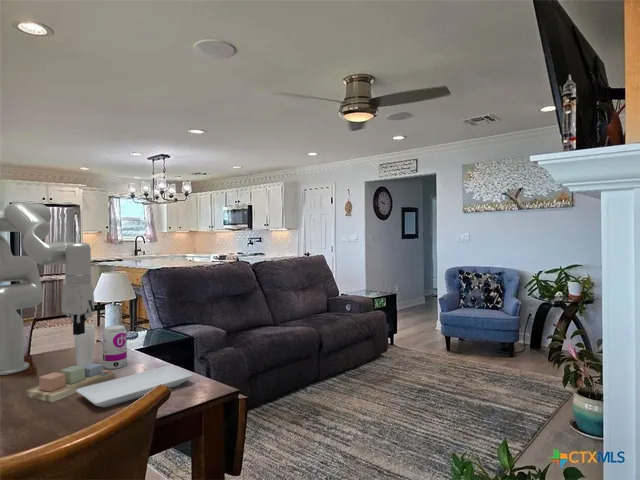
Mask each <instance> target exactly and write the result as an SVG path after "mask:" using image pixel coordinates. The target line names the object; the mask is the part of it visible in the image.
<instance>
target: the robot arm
mask: <svg viewBox="0 0 640 480" xmlns="http://www.w3.org/2000/svg"><path fill="white" fill-rule="evenodd" d="M51 220H52V213H51V210H50V208H49V207H48V206H46V205H45V204H43V203H37V202H22V201H20V202H19V201H17V202H13V203H10V204H8V205H7V206H5V208H0V233H1V232H4V233H5V232H6V233H9V232H12V233H13V232H14V233H15V232H18V233H20V234H21V235H22V236H23V238H22V246H23V250H24V252H25V254H26V255H13V252H12V251H11V250H12V249H11V245H10V243H9V242H8V241H7V240H6V238H5V237H4V236H3V235H1V234H0V283H7V282H9V283H10V282H17V281H19V282H20V283H12V284H4V285H0V376H4V375H5V376H6V375H10V374H16V373H19V372H23V371H24V370H25V371H26V370H27V369H29V367H30V363H29V362H27V361H25V351H24V349H25V345H24V341H25V340H24V338H25V337H24V333H25V332H24V331H25V330H24V319H23V318H22V317H21V315H20V314H19V313H18V310H21V309H25V308H26V309H27V308H33V307H37V306H39V305H40V304H41V303H42V301H43V298H44V292H43V291H44V290H43V285H42V281H41V276H40V272H39V269H38V265H37V264H39V265H40V266H54V265H64V269H65V271H64V272H65V275H64V277H65V278H64V281H65V283H64V284H63V287H62V291H61V302H60V303H61V306H60V307H61V308H60V310H61V312H62V313H63V314H64V315H65V316H66V317H69V318H70V321H71V323H72V335H73V336H74V335H80V334H83V333H85V325H86V324H85V323H86V322H87V319H88V318H92V317H93V312H95V295H94V288H93V284H92V259H91V258H92V257H91V256H92V255H91V250H92V249H91V245H90V244H88V243H85V242H72V241H58V242H57V241H54V242H52V241H51V242H45V241H43V240H44V239H45V238H46V237H47V236H48V235H49V234H50V232H51V225H50V222H51Z"/></svg>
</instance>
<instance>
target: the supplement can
mask: <svg viewBox="0 0 640 480" xmlns="http://www.w3.org/2000/svg"><path fill="white" fill-rule="evenodd" d="M127 333H128V332H127V328H126V327H125V325H123V324H115V325H107V326H105V327H104V329H103V330H102V368H103V367H104V369H108V370H115V369H120V368H124V367H125V366H126V365H127V364H128V360H127V359H128V355H127V353H128V349H127V347H128V343H127V340H128V339H127Z"/></svg>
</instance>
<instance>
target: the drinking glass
mask: <svg viewBox="0 0 640 480" xmlns="http://www.w3.org/2000/svg"><path fill="white" fill-rule="evenodd" d="M95 335H96V334H95V325H93V324H85V333H83V334H80V335H73V337H74V348H75V356H76V358H75V359H76V366H80V367H82V366H85V365H88V364H91V363H94V347H95V337H96V336H95Z"/></svg>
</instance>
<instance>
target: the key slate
mask: <svg viewBox="0 0 640 480" xmlns="http://www.w3.org/2000/svg"><path fill="white" fill-rule="evenodd" d="M82 367H85V377H88V378H91V377H93V376H96V375H98V374H100V373H102V370H103V364H100V363H94V362H93V363H91V364H88V365H85V366H82Z"/></svg>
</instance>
